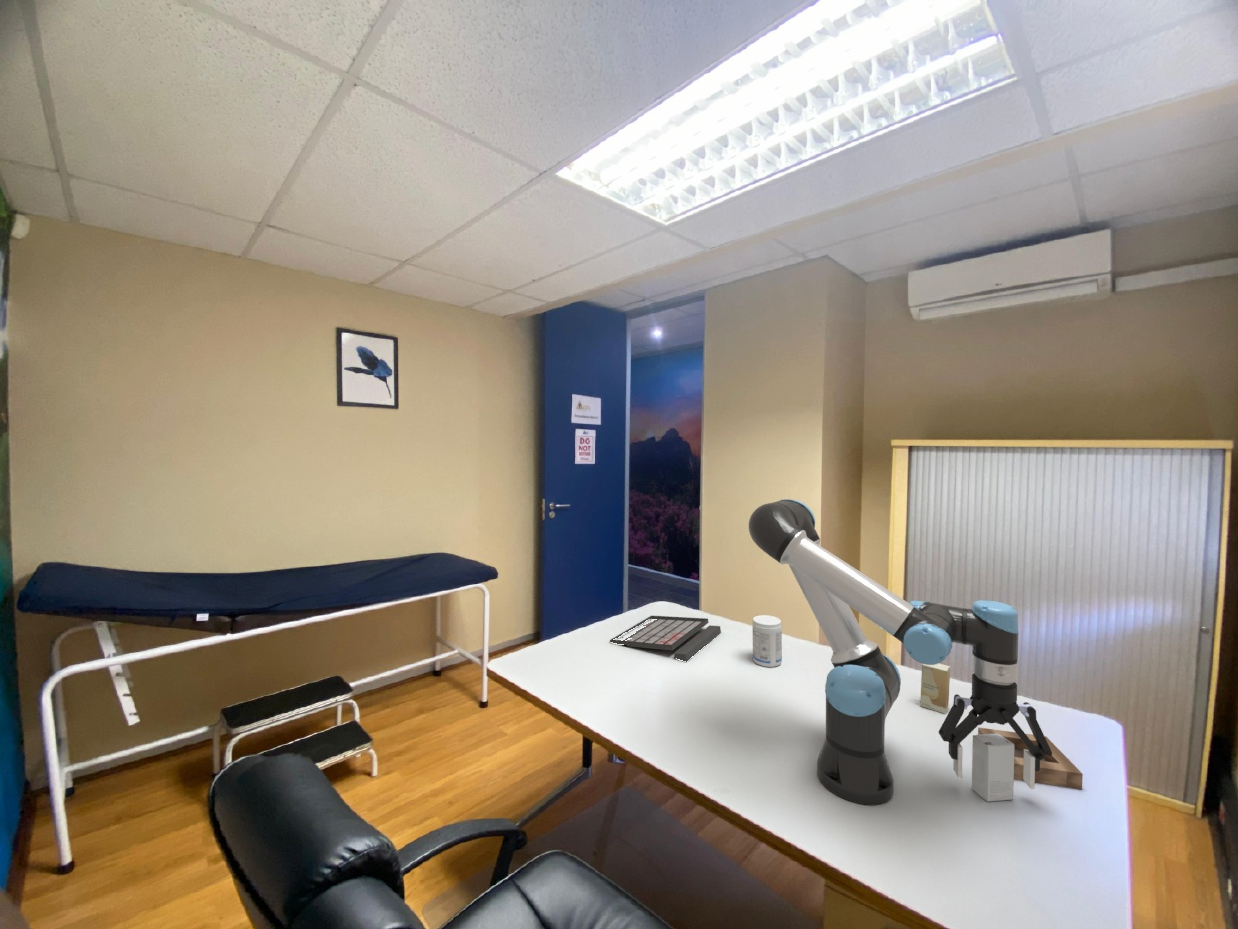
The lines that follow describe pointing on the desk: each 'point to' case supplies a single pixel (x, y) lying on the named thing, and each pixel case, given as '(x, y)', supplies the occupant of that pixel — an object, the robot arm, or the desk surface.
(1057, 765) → the socket block
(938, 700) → the skincare box
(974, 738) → the skincare box
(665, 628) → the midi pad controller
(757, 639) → the supplement tub
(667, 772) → the desk surface
